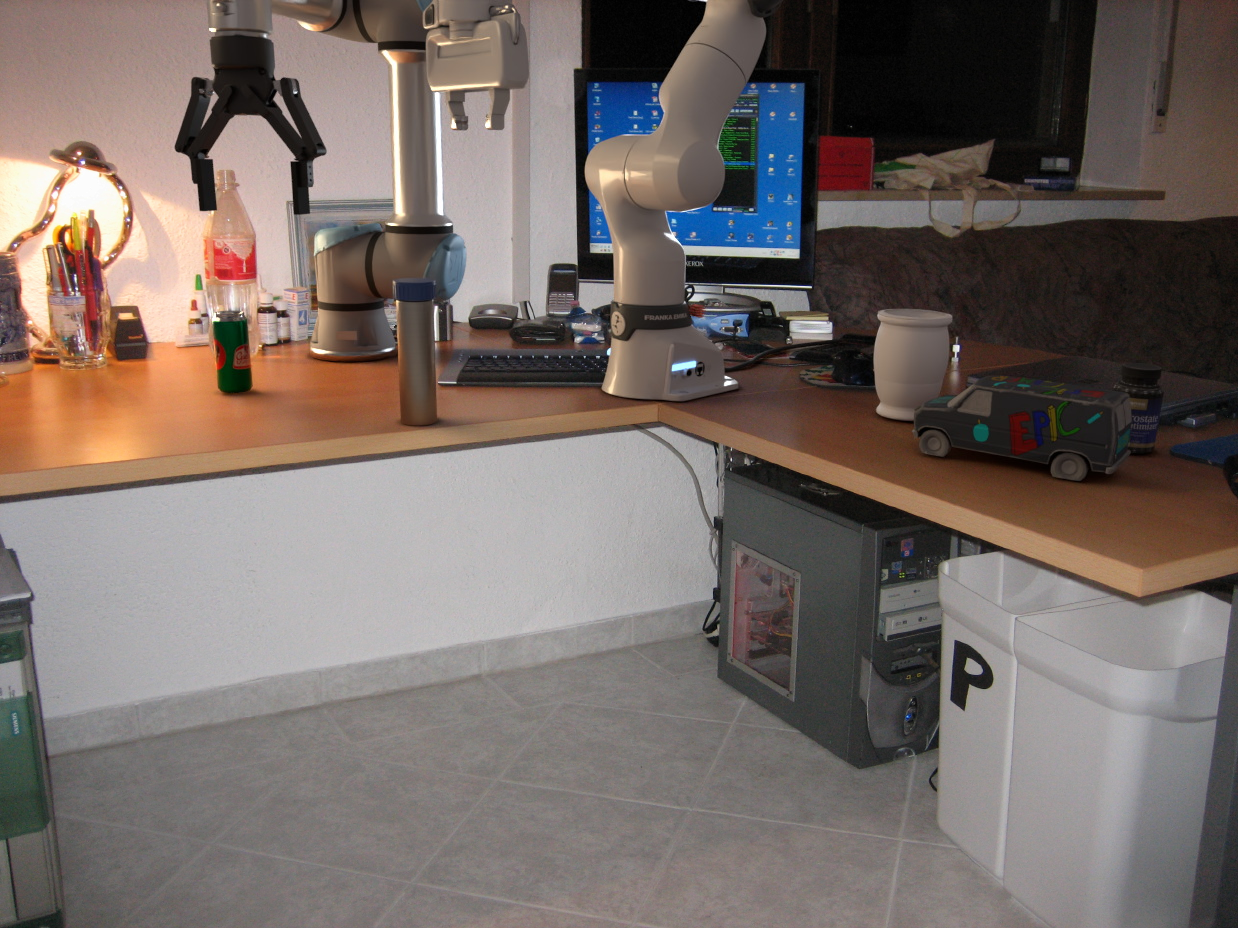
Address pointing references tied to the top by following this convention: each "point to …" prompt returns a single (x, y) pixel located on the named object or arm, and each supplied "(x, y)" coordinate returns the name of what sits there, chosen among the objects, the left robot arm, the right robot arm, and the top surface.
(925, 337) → the jar
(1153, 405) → the pill bottle
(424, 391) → the metal bottle
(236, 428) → the top surface
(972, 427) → the toy van
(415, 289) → the lid
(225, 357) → the soda can
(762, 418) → the top surface
